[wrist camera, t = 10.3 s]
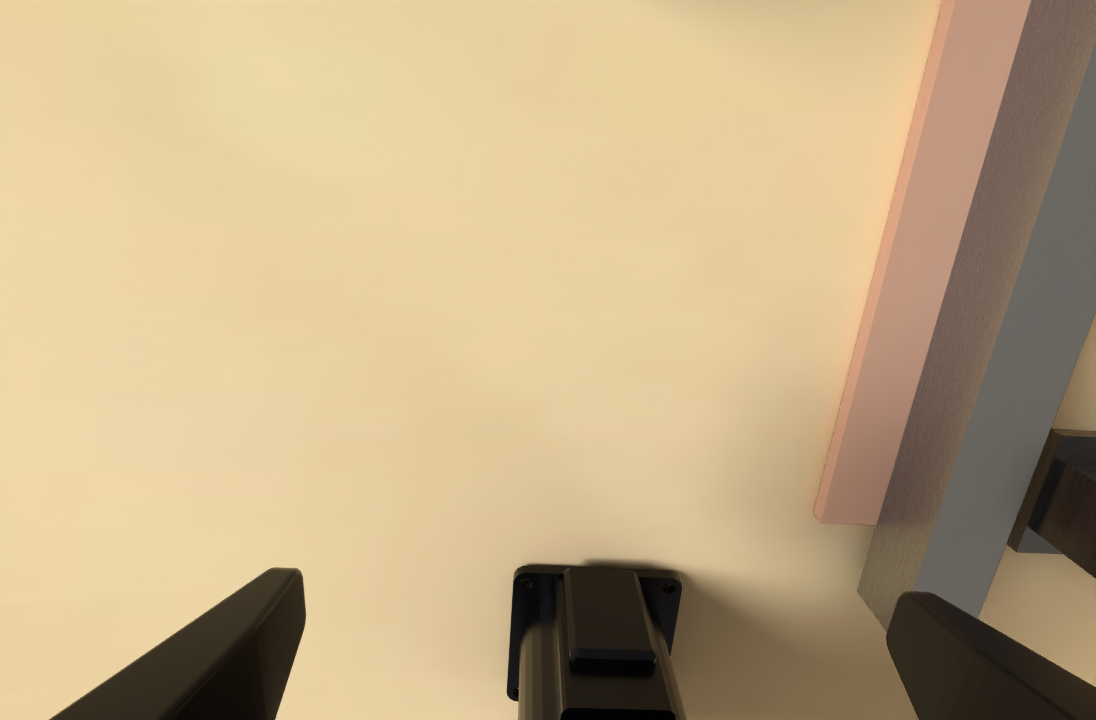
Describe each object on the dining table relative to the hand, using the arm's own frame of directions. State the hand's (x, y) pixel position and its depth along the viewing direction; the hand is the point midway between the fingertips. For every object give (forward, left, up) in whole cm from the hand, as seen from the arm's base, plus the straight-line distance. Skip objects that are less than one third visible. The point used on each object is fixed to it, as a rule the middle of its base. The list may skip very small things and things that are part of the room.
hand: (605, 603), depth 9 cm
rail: (+4, -13, -11) cm, 18 cm away
